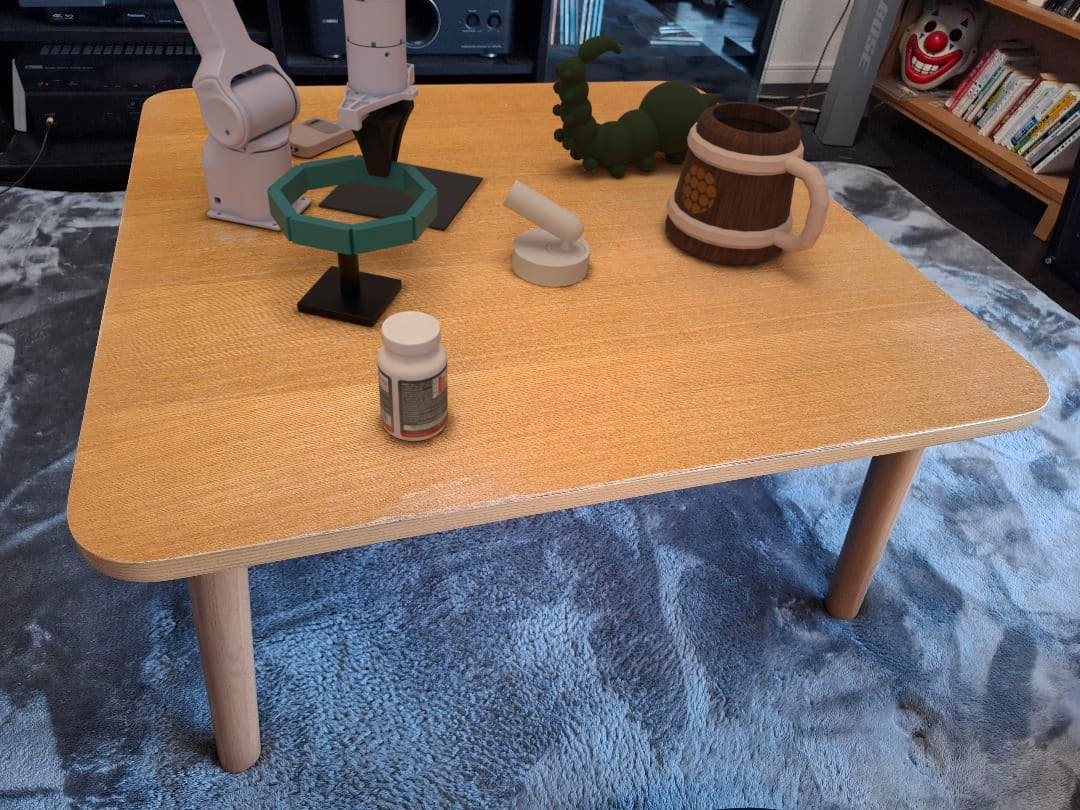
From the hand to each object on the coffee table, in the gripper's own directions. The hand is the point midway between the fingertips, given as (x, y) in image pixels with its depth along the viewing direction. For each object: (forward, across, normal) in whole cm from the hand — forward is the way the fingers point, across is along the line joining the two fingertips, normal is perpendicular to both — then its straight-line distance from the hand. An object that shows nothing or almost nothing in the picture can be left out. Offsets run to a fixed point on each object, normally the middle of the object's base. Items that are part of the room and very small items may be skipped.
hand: (382, 172), depth 91 cm
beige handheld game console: (+10, +23, +21) cm, 32 cm away
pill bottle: (+10, -27, -14) cm, 31 cm away
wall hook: (+10, +3, -18) cm, 20 cm away
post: (+9, -11, -1) cm, 14 cm away
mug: (+10, +17, -38) cm, 43 cm away
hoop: (+2, -7, 0) cm, 7 cm away
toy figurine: (+10, +34, -22) cm, 42 cm away
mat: (+9, +14, +4) cm, 17 cm away
